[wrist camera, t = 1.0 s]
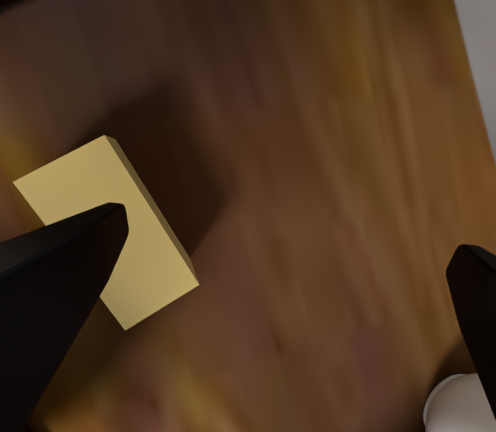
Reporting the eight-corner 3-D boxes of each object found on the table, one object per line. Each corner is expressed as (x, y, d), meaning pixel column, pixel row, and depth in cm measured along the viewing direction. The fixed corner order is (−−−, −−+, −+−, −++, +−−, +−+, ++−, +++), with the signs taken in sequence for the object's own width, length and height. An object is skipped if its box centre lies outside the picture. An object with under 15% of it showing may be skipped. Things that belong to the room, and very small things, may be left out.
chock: (131, 292, 20) (125, 330, 15) (47, 175, 17) (12, 181, 13) (189, 257, 20) (199, 284, 16) (115, 139, 18) (104, 134, 14)
